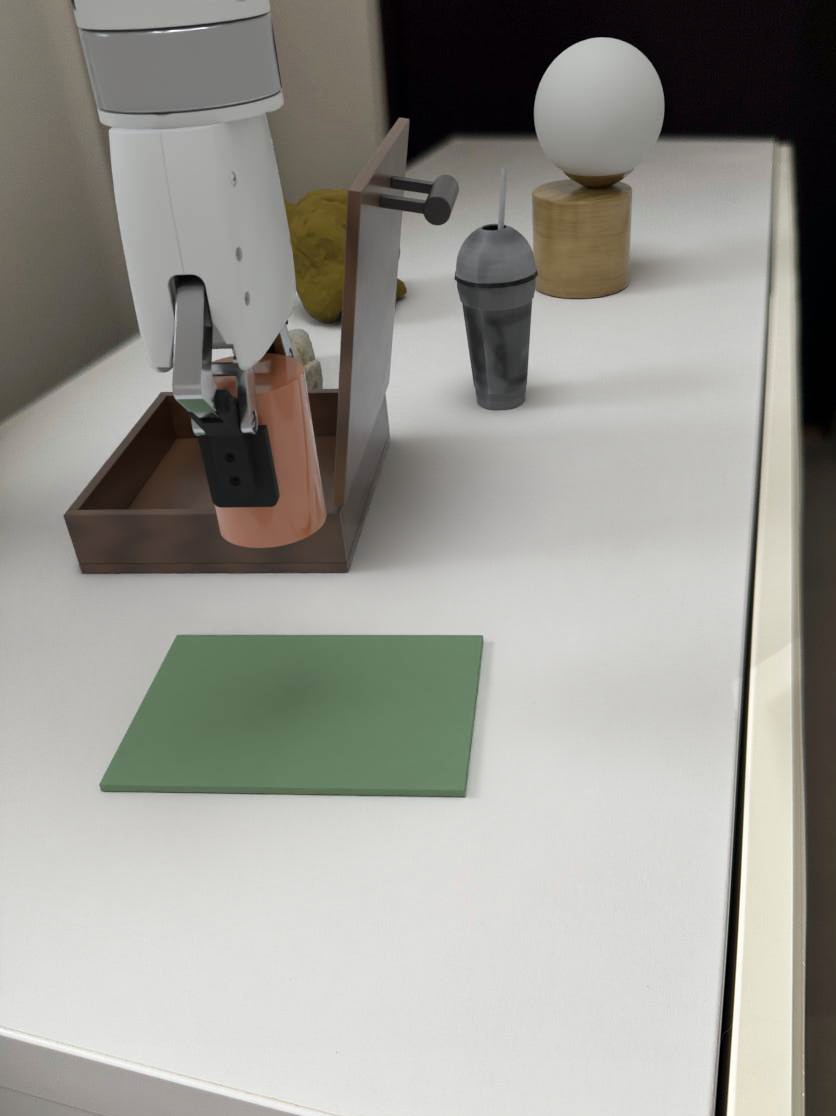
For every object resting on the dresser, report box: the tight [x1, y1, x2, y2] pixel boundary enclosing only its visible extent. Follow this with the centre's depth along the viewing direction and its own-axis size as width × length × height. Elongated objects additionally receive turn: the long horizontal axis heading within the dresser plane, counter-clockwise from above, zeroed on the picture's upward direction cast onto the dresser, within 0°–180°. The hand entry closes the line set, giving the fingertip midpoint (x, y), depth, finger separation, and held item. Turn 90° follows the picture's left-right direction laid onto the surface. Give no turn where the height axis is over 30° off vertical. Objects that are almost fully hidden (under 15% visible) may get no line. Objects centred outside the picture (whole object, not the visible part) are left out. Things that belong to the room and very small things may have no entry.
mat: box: [99, 634, 484, 797], centre depth 62 cm, size 20×14×1 cm
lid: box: [333, 117, 460, 507], centre depth 74 cm, size 20×22×5 cm
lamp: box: [531, 36, 665, 299], centre depth 118 cm, size 15×14×25 cm
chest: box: [63, 388, 391, 574], centre depth 83 cm, size 20×22×5 cm
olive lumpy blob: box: [284, 188, 408, 323], centre depth 117 cm, size 14×14×14 cm
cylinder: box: [212, 353, 327, 548], centre depth 53 cm, size 6×6×8 cm
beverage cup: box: [454, 166, 538, 411], centre depth 92 cm, size 7×7×20 cm
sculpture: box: [288, 328, 324, 389], centre depth 101 cm, size 7×5×15 cm
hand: (262, 470), depth 53 cm, fingers closed on cylinder, 5 cm apart
